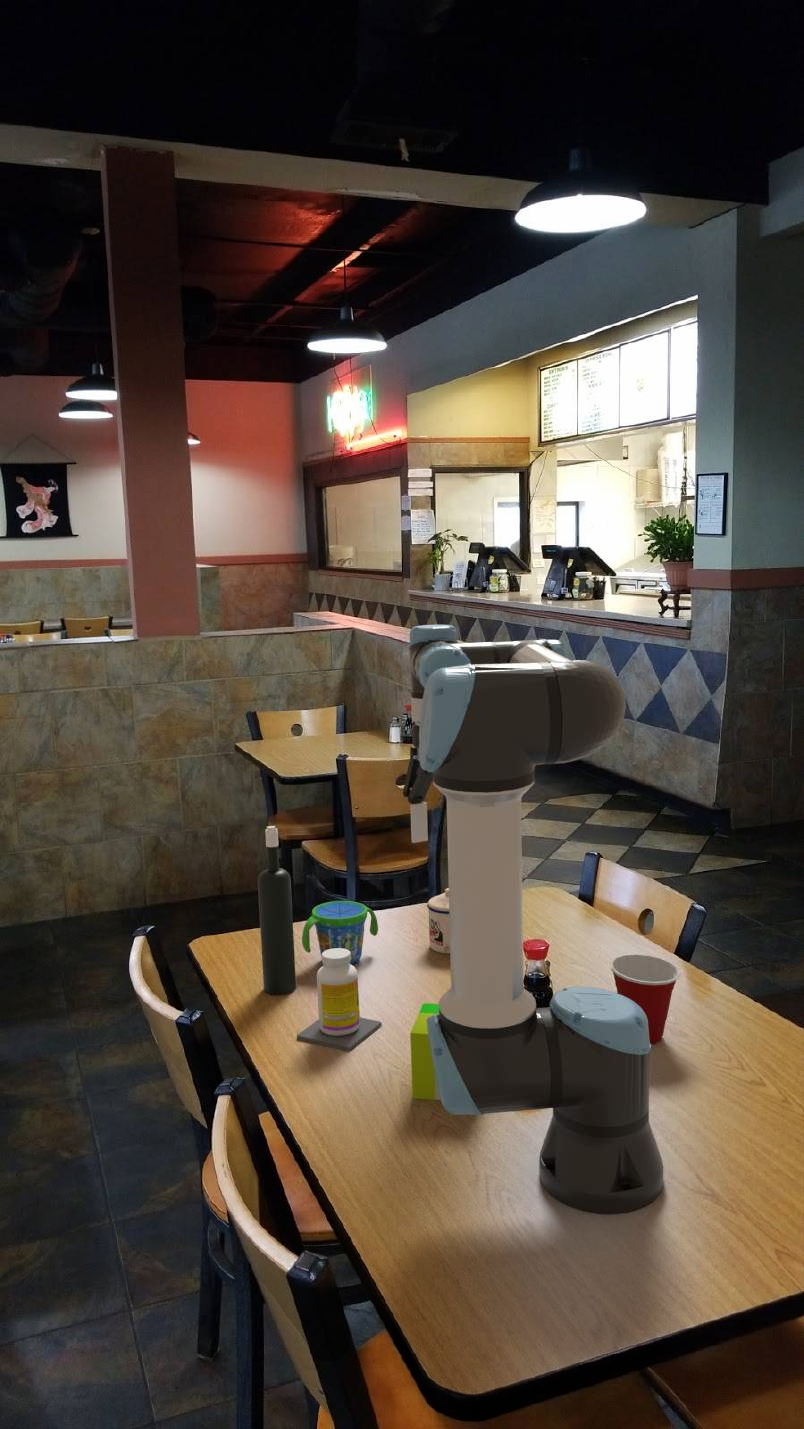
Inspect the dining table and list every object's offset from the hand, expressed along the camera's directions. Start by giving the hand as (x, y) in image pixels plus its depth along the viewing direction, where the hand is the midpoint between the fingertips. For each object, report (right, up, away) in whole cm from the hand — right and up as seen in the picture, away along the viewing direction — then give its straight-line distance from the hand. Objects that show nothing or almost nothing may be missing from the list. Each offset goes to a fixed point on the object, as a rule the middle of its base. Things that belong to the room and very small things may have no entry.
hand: (439, 851), depth 175 cm
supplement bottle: (-16, -29, +1) cm, 33 cm away
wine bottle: (-28, -27, +18) cm, 43 cm away
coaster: (-16, -30, +1) cm, 34 cm away
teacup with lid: (+4, -24, +35) cm, 42 cm away
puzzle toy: (+1, -32, -17) cm, 36 cm away
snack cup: (-18, -25, +31) cm, 43 cm away
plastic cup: (+32, -29, -5) cm, 44 cm away
